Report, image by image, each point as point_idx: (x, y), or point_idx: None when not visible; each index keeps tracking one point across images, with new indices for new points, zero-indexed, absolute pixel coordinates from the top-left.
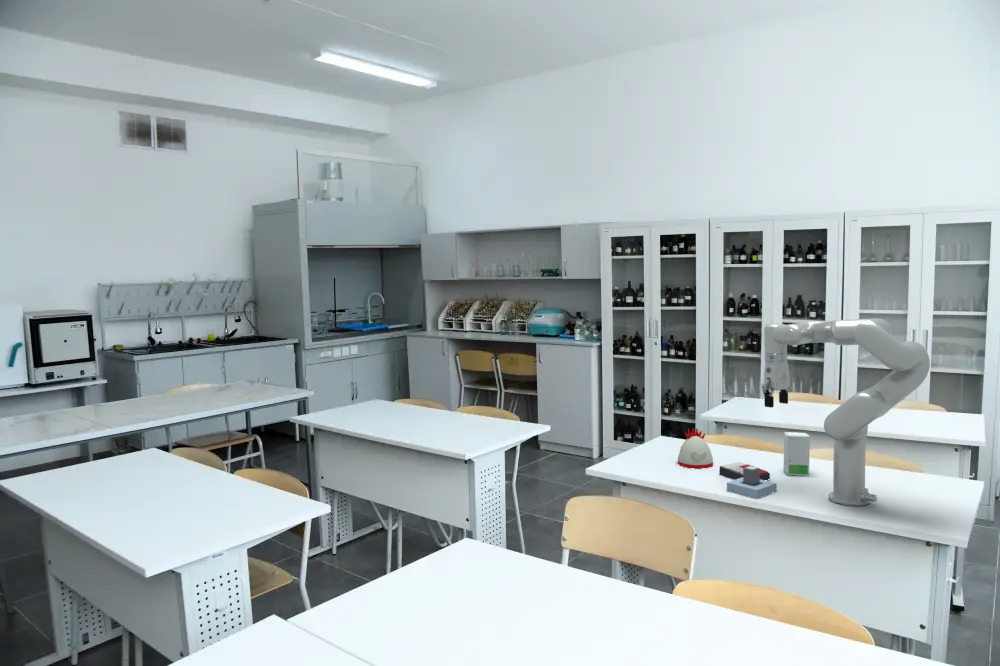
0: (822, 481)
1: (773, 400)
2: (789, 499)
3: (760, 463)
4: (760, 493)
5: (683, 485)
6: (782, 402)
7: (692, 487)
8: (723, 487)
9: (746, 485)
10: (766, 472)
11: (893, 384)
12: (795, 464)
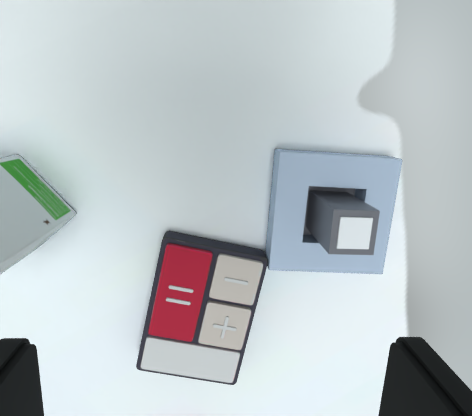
0: (40, 86)
1: (459, 405)
2: (326, 74)
3: None
4: (374, 156)
5: None
6: (39, 403)
7: None
8: (345, 287)
9: None
10: (176, 245)
11: None
12: (36, 200)
